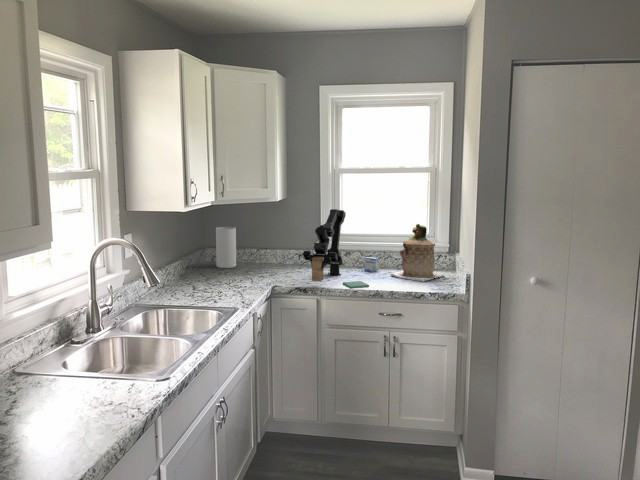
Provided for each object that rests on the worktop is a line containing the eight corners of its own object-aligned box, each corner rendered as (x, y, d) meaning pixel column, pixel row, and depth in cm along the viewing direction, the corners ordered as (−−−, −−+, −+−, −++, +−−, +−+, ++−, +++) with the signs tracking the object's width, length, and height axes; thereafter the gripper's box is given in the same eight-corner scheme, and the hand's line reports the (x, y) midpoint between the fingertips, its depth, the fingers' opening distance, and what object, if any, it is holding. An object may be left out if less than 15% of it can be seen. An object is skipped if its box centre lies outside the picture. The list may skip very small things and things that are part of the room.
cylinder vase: (213, 268, 346) (212, 228, 343) (220, 264, 359) (219, 226, 355) (232, 268, 344) (232, 229, 341) (238, 265, 357) (238, 227, 353)
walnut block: (314, 279, 301) (314, 256, 299) (323, 279, 299) (323, 257, 297) (311, 281, 296) (312, 258, 294) (320, 281, 294) (320, 258, 293)
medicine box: (364, 271, 340) (364, 257, 339) (366, 270, 344) (367, 256, 343) (376, 272, 336) (376, 258, 335) (378, 271, 340) (379, 257, 339)
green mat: (342, 283, 304) (342, 282, 304) (360, 282, 308) (360, 280, 308) (350, 288, 294) (350, 286, 294) (369, 286, 298) (369, 285, 297)
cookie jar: (446, 276, 326) (448, 223, 322) (423, 283, 309) (425, 226, 304) (411, 270, 343) (413, 220, 339) (388, 276, 325) (389, 223, 321)
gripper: (303, 236, 300) (297, 259, 292) (336, 237, 295) (330, 261, 286) (308, 248, 309) (301, 270, 300) (340, 249, 304) (334, 273, 295)
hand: (317, 268), depth 295 cm, fingers closed on walnut block, 5 cm apart
